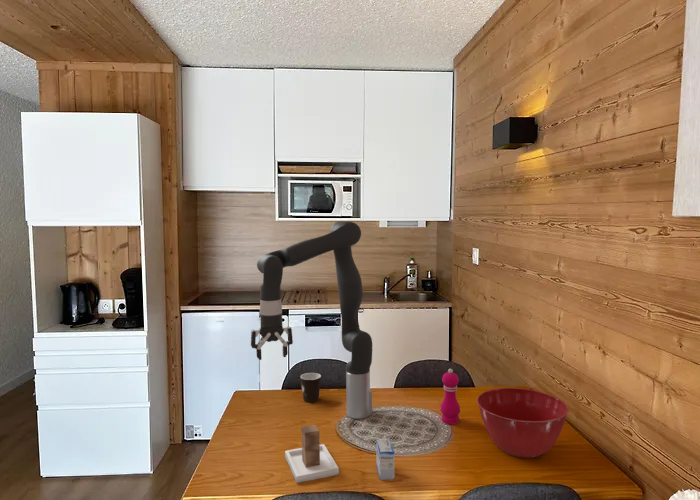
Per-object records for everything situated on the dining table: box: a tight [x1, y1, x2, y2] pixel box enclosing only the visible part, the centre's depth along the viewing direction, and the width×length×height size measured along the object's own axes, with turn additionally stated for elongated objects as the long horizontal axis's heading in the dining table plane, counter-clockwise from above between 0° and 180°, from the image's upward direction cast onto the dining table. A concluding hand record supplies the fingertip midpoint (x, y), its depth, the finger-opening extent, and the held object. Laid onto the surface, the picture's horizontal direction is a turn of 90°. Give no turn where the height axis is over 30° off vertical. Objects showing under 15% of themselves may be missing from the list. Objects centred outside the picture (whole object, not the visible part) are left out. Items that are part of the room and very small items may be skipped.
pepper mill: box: [440, 368, 461, 425], centre depth 179 cm, size 7×7×20 cm
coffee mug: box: [300, 372, 322, 403], centre depth 203 cm, size 12×9×10 cm
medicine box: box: [375, 438, 396, 481], centre depth 145 cm, size 8×4×9 cm, turn 5°
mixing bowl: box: [476, 387, 570, 459], centre depth 158 cm, size 28×28×16 cm
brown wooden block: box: [301, 424, 321, 468], centre depth 149 cm, size 4×4×11 cm
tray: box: [284, 443, 340, 484], centre depth 150 cm, size 13×16×2 cm
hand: (272, 357), depth 168 cm, fingers open, 8 cm apart
